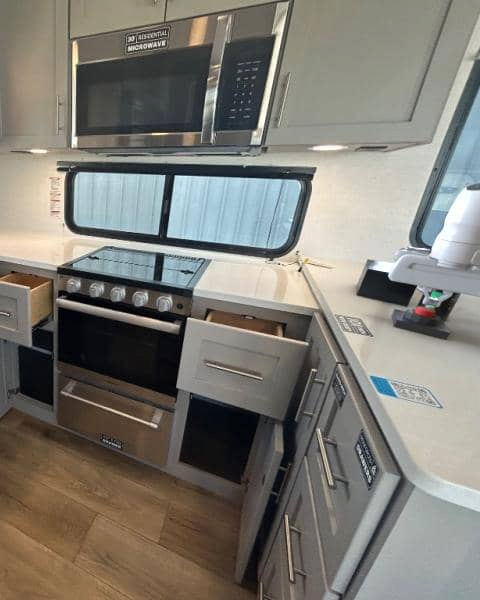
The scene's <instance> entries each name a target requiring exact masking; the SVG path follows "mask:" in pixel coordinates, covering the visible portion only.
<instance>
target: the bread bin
mask: <svg viewBox="0 0 480 600" xmlns="http://www.w3.org/2000/svg"><path fill="white" fill-rule="evenodd" d="M417 286H418V285H413V284H407V283H402V282H396V281H392V280H390V278H389V277H388V275H386V274H381V273H375V272H370V271H367V261H366V262H365V264H364V267H363V269H362V272H361V274H360V277H359V279H358V281H357V284H356V295H355V296H358V297H362V298H366V299H371V300H375V301H380V302H383V303H388V304H393V305H397V306H401V307H406V308H407V307H408V306H409V304H410V302H411V300H412V298H413V296H414V294H415V292H416V290H417Z"/></svg>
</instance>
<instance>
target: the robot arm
mask: <svg viewBox="0 0 480 600" xmlns="http://www.w3.org/2000/svg"><path fill="white" fill-rule="evenodd" d="M393 259H394V263H393V264H394V265H393V266H392V268H391V270H390V272H389V274H388V277H389V278H390V280H392V281H396V282H402V283H407V284H413V285H418V286H423V292H422V293H424V295H425V298H424V300H423V304H426V305H431V306H436V307H439V306H440V304H441V302H442V301H444V300H446V299H447V298H449V297H451V296H452V294H453V292H456V293H461V295H462V294H463V295H467V296H472V297H478V298H480V182H478V183H474V184H473V183H472V184H470V185H468V186H466V187H464V188H463V189H462V190H461V192H460V193H459V194H458V195H457V197H455V200H454V201H453V203H452V205H451V207H449V211H448V212H447V215H446V216H445V219H444V225H443V228H442V230H441V231H440V232H439V233H438V235H437V236H436V238H435V240H434V242H433V244H432V246H431V248H423V247H414V246H407V247H401V248H400V249H397V251H396V252H395V255H394V258H393ZM433 288H434V289H440V290H443V295H442V296H440V297H439V298H432V297H429V294H428V292H431V291H432V289H433Z"/></svg>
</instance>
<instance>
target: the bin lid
mask: <svg viewBox="0 0 480 600" xmlns="http://www.w3.org/2000/svg"><path fill="white" fill-rule="evenodd" d="M366 262H367V271H370V272H375V273H381V274H386V275H388V274H389V272H390V270H391V268H392V266H393V265H394V263H392V262H386V261H381V260H374V259H366Z"/></svg>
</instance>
